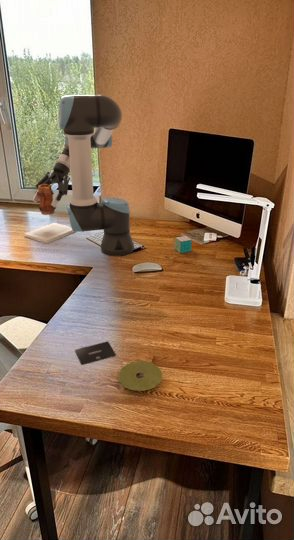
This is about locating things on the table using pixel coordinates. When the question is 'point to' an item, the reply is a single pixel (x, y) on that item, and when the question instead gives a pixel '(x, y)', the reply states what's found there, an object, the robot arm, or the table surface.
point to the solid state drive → (95, 353)
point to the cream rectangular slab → (49, 233)
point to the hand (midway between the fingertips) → (43, 203)
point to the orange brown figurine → (45, 199)
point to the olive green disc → (140, 375)
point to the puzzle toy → (183, 244)
